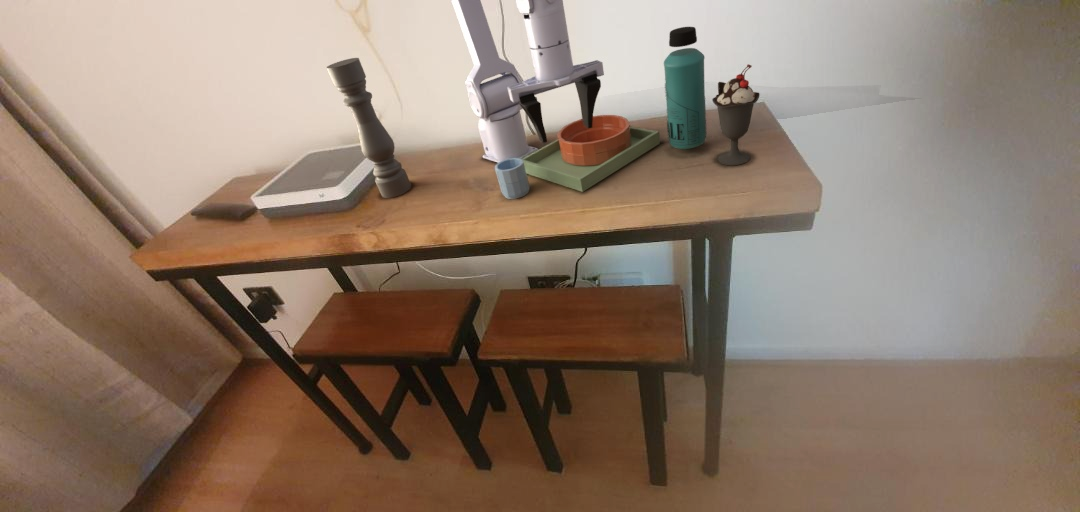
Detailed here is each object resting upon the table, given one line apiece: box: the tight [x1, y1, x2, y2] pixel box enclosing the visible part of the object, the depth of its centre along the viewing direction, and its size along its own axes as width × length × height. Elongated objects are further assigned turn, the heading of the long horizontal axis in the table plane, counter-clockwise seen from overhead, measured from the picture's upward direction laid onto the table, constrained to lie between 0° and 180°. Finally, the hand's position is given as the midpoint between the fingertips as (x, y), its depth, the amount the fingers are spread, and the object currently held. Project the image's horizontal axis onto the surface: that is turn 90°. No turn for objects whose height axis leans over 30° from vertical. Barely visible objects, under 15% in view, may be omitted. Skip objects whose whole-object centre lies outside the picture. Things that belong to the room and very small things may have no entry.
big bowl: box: [557, 114, 632, 166], centre depth 90 cm, size 13×13×5 cm
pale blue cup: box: [494, 158, 530, 200], centre depth 83 cm, size 5×5×6 cm
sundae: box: [711, 64, 761, 166], centre depth 74 cm, size 7×7×15 cm
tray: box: [522, 126, 661, 193], centre depth 90 cm, size 17×20×2 cm
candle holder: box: [326, 57, 412, 199], centre depth 90 cm, size 6×6×25 cm
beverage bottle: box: [663, 26, 708, 150], centre depth 79 cm, size 6×7×20 cm
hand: (565, 133), depth 76 cm, fingers open, 7 cm apart
